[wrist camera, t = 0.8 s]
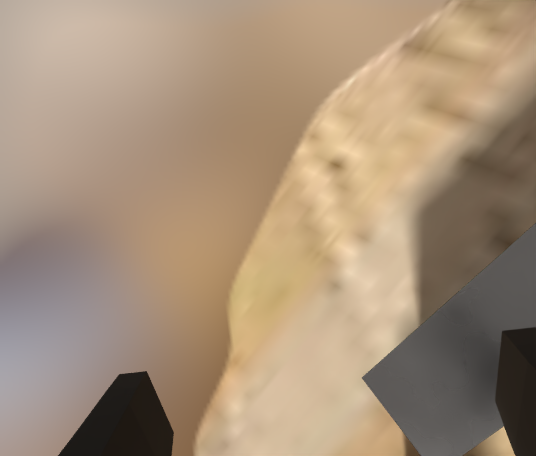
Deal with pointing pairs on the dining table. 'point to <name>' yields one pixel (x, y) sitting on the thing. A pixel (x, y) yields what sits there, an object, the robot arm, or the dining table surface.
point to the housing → (459, 357)
